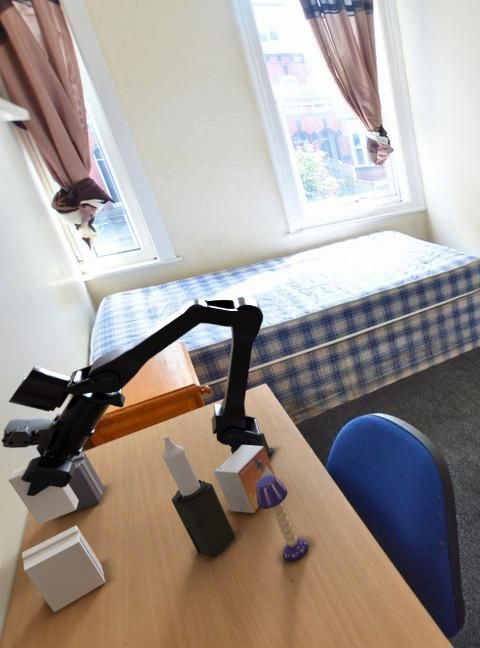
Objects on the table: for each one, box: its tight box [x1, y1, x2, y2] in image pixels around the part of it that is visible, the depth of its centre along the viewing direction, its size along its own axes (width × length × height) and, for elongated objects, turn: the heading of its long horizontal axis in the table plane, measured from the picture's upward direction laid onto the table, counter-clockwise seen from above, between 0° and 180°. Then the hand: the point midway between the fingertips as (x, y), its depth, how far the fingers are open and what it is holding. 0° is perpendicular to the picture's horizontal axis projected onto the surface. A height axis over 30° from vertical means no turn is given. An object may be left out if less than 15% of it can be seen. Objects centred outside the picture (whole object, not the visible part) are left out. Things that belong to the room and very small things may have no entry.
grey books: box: [58, 452, 105, 518], centre depth 99 cm, size 7×5×10 cm
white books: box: [21, 525, 106, 613], centre depth 79 cm, size 7×5×10 cm
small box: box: [213, 445, 276, 514], centre depth 95 cm, size 8×6×10 cm
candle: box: [162, 435, 236, 558], centre depth 82 cm, size 5×5×25 cm
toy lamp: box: [256, 475, 309, 562], centre depth 81 cm, size 5×5×17 cm
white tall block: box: [7, 465, 79, 525], centre depth 88 cm, size 6×3×11 cm, turn 123°
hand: (32, 489), depth 87 cm, fingers closed on white tall block, 3 cm apart
